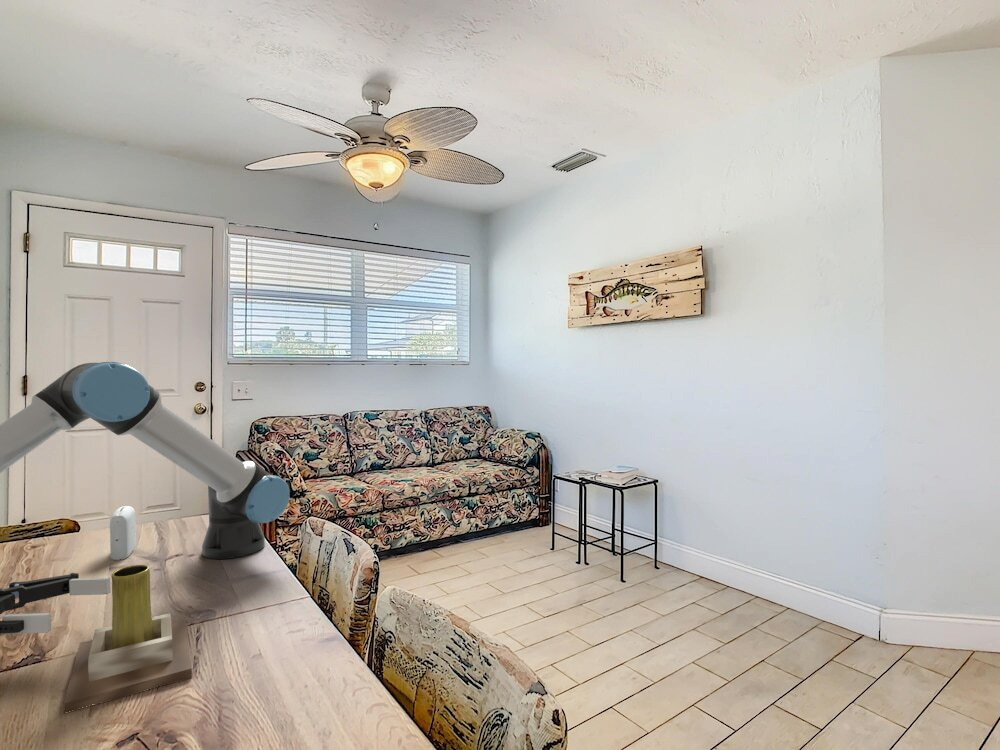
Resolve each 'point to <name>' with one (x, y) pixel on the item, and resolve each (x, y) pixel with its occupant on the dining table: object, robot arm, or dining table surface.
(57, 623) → the dining table surface
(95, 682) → the stand
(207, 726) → the dining table surface
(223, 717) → the dining table surface
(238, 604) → the dining table surface
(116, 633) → the vase
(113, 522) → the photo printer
